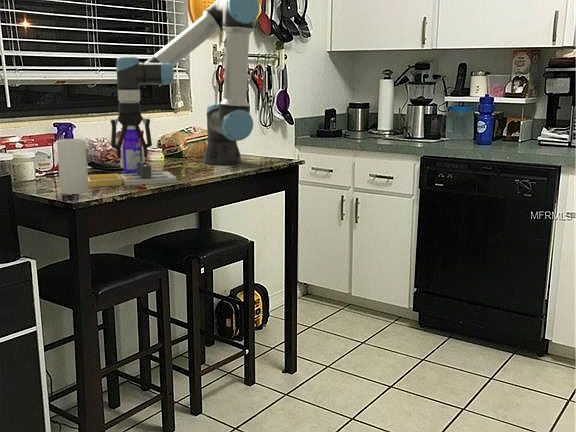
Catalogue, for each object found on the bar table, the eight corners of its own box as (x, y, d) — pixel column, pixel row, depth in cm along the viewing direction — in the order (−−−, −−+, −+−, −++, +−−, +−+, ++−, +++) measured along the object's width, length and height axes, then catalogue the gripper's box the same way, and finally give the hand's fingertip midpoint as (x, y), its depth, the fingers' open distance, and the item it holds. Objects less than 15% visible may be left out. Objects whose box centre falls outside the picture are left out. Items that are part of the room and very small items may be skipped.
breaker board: (168, 175, 222) (167, 169, 222) (176, 182, 210) (176, 176, 209) (119, 178, 216) (118, 172, 216) (125, 185, 203) (124, 179, 203)
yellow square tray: (117, 179, 214) (117, 173, 214) (122, 184, 205) (121, 178, 204) (85, 181, 210) (85, 175, 210) (88, 187, 201) (88, 180, 200)
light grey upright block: (93, 192, 193) (90, 140, 190) (69, 196, 187) (65, 142, 184) (79, 188, 199) (76, 138, 195) (55, 192, 193) (51, 140, 189)
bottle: (136, 175, 221) (133, 126, 217) (121, 175, 222) (118, 125, 218) (144, 172, 228) (142, 124, 224) (130, 171, 229) (127, 124, 225)
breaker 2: (149, 176, 210) (149, 164, 209) (151, 178, 208) (150, 166, 207) (140, 177, 209) (140, 165, 208) (142, 178, 207) (141, 166, 206)
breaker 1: (145, 173, 217) (145, 161, 216) (147, 174, 214) (146, 162, 213) (137, 173, 216) (136, 162, 215) (138, 175, 213) (138, 163, 212)
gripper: (155, 100, 226) (158, 163, 232) (99, 101, 219) (103, 166, 225) (159, 102, 220) (162, 167, 225) (101, 103, 212) (105, 170, 218)
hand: (132, 166), depth 225 cm, fingers closed on bottle, 7 cm apart
